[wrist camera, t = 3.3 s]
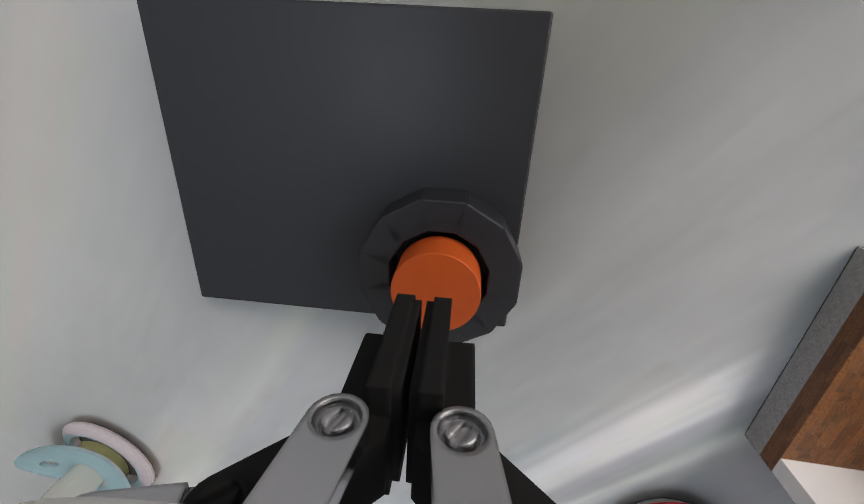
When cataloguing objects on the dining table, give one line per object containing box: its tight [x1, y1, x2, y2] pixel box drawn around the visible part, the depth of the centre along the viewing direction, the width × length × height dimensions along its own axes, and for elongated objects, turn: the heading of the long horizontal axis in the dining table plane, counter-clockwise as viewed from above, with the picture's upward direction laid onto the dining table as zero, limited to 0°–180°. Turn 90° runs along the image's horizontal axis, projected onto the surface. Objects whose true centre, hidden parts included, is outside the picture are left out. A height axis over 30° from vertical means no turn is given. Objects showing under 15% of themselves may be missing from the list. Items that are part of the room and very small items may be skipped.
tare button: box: [390, 236, 481, 330], centre depth 15 cm, size 3×3×2 cm
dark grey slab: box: [137, 0, 553, 342], centre depth 15 cm, size 14×12×3 cm
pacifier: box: [14, 421, 155, 500], centre depth 24 cm, size 7×6×6 cm
